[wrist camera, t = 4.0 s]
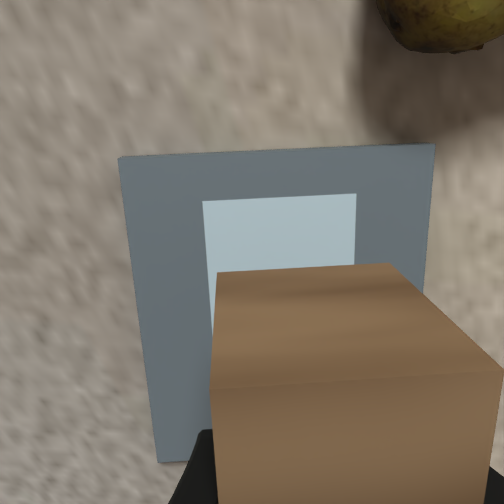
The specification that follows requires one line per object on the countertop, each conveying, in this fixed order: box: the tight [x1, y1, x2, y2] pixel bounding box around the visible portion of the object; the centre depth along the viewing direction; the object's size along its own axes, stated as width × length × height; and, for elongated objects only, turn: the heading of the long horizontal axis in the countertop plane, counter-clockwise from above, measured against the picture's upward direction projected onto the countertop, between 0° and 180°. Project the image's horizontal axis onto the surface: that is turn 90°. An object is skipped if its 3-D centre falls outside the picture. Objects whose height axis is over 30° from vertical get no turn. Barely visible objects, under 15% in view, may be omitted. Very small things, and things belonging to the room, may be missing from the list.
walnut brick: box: [209, 263, 504, 504], centre depth 10 cm, size 9×4×5 cm, turn 2°
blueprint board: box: [118, 143, 436, 463], centre depth 19 cm, size 14×12×1 cm
